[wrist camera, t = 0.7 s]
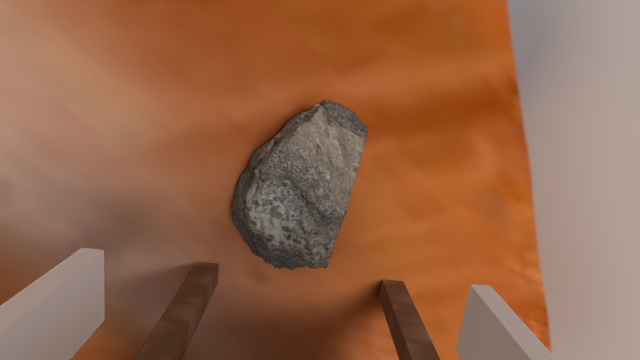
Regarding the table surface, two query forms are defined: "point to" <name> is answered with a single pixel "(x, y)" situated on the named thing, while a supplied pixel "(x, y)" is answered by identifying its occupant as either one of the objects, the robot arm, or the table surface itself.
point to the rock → (300, 187)
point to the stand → (193, 296)
